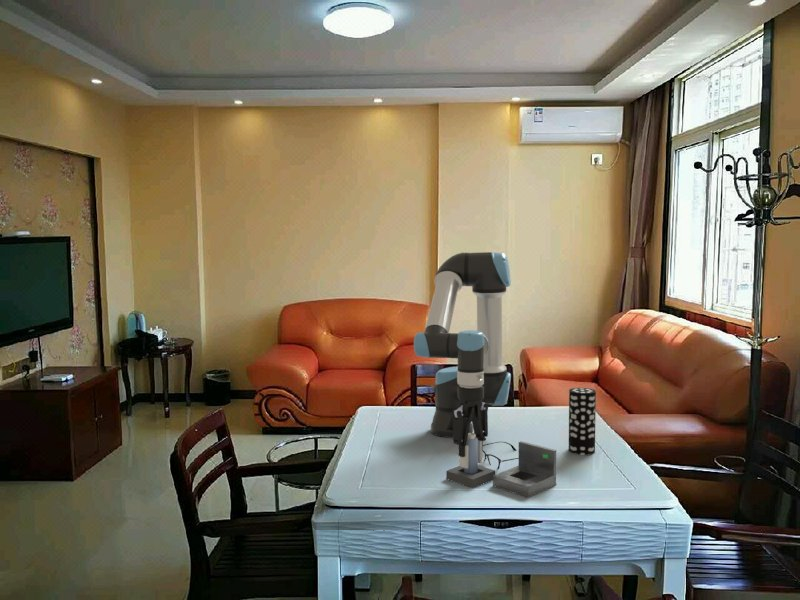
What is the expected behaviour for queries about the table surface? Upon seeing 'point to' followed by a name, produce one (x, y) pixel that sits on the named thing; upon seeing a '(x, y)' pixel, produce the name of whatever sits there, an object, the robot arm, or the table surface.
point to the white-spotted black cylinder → (582, 421)
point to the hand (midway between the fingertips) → (470, 464)
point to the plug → (472, 454)
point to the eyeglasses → (497, 457)
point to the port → (529, 471)
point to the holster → (470, 476)
